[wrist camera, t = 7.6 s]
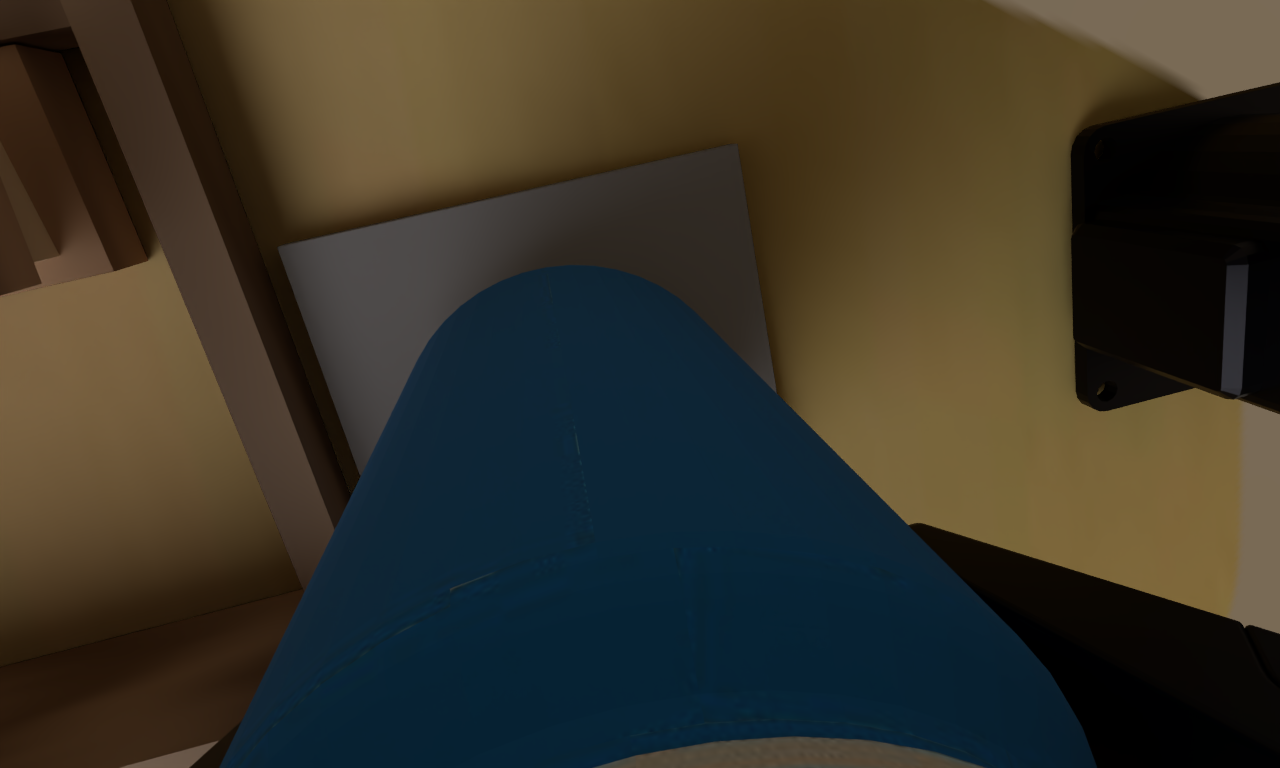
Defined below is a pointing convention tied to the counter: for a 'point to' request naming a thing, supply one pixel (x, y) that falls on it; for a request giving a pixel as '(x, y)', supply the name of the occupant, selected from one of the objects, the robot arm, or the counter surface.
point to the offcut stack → (54, 181)
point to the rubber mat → (523, 269)
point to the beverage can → (631, 573)
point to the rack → (252, 388)
